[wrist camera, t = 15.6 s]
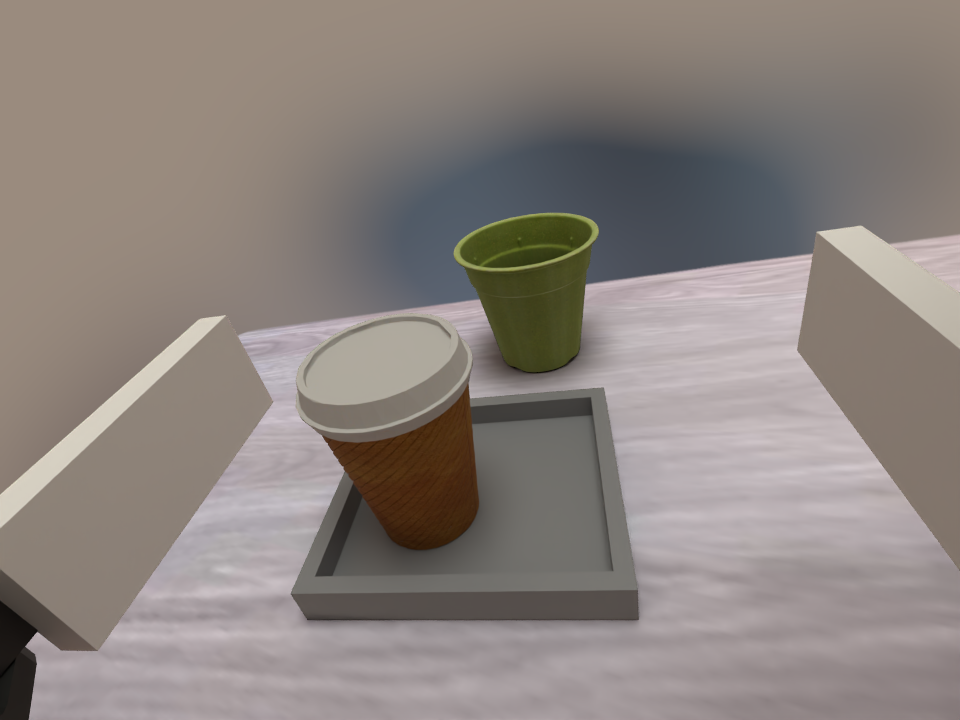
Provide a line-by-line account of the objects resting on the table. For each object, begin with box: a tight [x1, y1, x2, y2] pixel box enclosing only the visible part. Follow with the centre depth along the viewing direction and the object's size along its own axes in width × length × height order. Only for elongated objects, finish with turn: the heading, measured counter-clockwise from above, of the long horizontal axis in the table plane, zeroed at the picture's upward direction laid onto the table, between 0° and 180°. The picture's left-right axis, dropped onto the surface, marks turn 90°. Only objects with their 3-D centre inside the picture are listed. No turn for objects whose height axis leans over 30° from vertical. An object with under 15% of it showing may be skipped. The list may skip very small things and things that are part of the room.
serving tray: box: [291, 388, 639, 620], centre depth 33 cm, size 18×16×2 cm
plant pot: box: [454, 213, 599, 372], centre depth 44 cm, size 12×12×11 cm
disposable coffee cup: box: [296, 313, 479, 550], centre depth 29 cm, size 10×10×12 cm
